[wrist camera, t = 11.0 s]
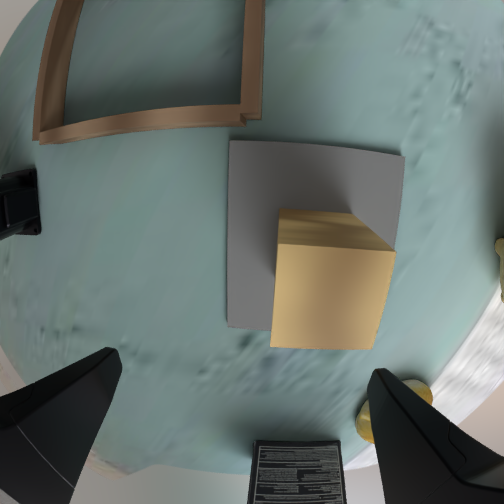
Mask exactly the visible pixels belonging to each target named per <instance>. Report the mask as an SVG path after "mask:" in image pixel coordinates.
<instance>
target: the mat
mask: <svg viewBox="0 0 504 504" xmlns="http://www.w3.org/2000/svg"><path fill="white" fill-rule="evenodd" d="M404 166H405V157H403V156H398V155H392V154H386V153H380V152H374V151H367V150H360V149H352V148H344V147H336V146H327V145H316V144H304V143H291V142H273V141H242V140H230V141H229V177H228V240H227V316H228V327H231V328H242V329H254V330H267V331H271V329H272V314H273V299H274V284H275V269H276V254H277V239H278V223H279V208H283V209H298V210H312V211H325V212H336V213H348V214H353V215H354V216H356V217H357V218H358V219H359V220H360V221H362V222H363V223H364V224H365V225H366V226H368V227H369V228H370V229H371V230H372V231H373V232H375V233H376V234H377V235H378V236H379V237H380V238H381V239H383V240H384V241H385V242H386V243H387V244H388V245H389V246H390V247H391V248H393V249H394V246H395V240H396V234H397V228H398V221H399V214H400V206H401V198H402V189H403V179H404Z"/></svg>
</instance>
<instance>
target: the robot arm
mask: <svg viewBox="0 0 504 504" xmlns="http://www.w3.org/2000/svg"><path fill="white" fill-rule="evenodd" d="M40 233H41V224H40V216H39V206H38V195H37V179H36V170H35V169H34V168H32V169H27V170H22V171H17V172H13V173H8V174H4V175H2V176H1V179H0V240H3V239H5V238H7V237H9V236H12V235H14V234H20V235H39V234H40ZM121 373H122V363H121V360H120V357H119V353H118V351H117V349H115V348H111V347H105V348H103V349H101V350H99V351H97V352H95V353H93V354H91V355H89V356H87V357H85V358H83V359H81V360H79V361H77V362H75V363H73V364H71V365H69V366H67V367H65V368H63V369H61V370H59V371H57V372H55V373H53V374H51V375H49V376H46V377H44V378H42V379H40V380H38V381H36V382H35V383H32V384H30V385H28V386H26V387H23V388H21V389H19V390H17V391H14V392H12V393H9V394H6V395H4V396H1V397H0V504H69V503H70V500H71V498H72V495H73V492H74V488H75V486H76V484H77V481H78V479H79V476H80V474H81V471H82V469H83V466H84V464H85V461H86V459H87V457H88V454H89V452H90V449H91V447H92V445H93V442H94V440H95V438H96V436H97V433H98V431H99V429H100V426H101V424H102V422H103V420H104V418H105V415H106V413H107V411H108V409H109V407H110V404H111V402H112V399H113V396H114V393H115V390H116V387H117V384H118V381H119V378H120V376H121ZM367 394H368V402H369V412H370V422H371V429H372V434H373V439H374V443H375V448H376V453H377V458H378V463H379V468H380V473H381V479H382V485H383V491H384V498H385V504H504V457H503V456H501V455H499V454H497V453H496V452H494V451H492V450H491V449H489V448H488V447H486V446H484V445H483V444H481V443H480V442H478V441H476V440H475V439H474V438H472V437H471V436H469V435H468V434H466V433H465V432H464V431H462V430H461V429H460V428H459V427H457V426H456V425H455V424H454V423H452V422H450V420H449V419H447V418H446V417H445V416H444V415H442V414H441V413H440V412H439V411H438V410H436V409H435V408H434V407H433V406H431V405H430V404H429V403H428V402H426V401H425V400H424V399H423V398H422V397H420V396H419V395H418V394H417V393H415V392H414V391H413V390H412V389H411V388H409V387H408V386H407V385H406V384H404V383H403V382H402V381H401V380H400V379H398V378H397V377H396V376H395V375H394V374H392V373H391V372H390V371H389V370H387V369H386V368H378V369H375V370H374V371H373V373H372V376H371V378H370V381H369V383H368V387H367Z"/></svg>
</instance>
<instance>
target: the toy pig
mask: <svg viewBox="0 0 504 504" xmlns="http://www.w3.org/2000/svg"><path fill="white" fill-rule="evenodd" d="M495 250H496V252H497V254H498V255H499V256H500V283H501V289H502V293H501V300H502V302H503V303H504V238H500V239H498V240H497V241H496V243H495Z"/></svg>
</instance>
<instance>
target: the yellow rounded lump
mask: <svg viewBox="0 0 504 504" xmlns="http://www.w3.org/2000/svg"><path fill="white" fill-rule="evenodd" d="M402 382H403V383H404V384H406V385H407V386H408V387H409V388H411V389H412V390H413V391H414V392H415V393H417V394H418V395H419V396H420V397H422V398H423V399H424V400H425V401H426V402H428V403H429V404H430V405H432V401H433V396H432V392H431V390H430V389H429V387H428V386H427V385H425V384H424V383H422V382H420V381H418V380H412V379H410V380H404V381H402ZM355 427H356V430H357V433H358V434H359V435H360V436H361V437H362V438H363V439H364V440H366V441H368V442H370V443H373V444H375V443H374V439H373V434H372V429H371V422H370V412H369V402H368V400H367V401H366V402H365V403H364V405H363V406H362V408H361V411H360V413H359V414H358V416H357V418H356V422H355Z"/></svg>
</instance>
